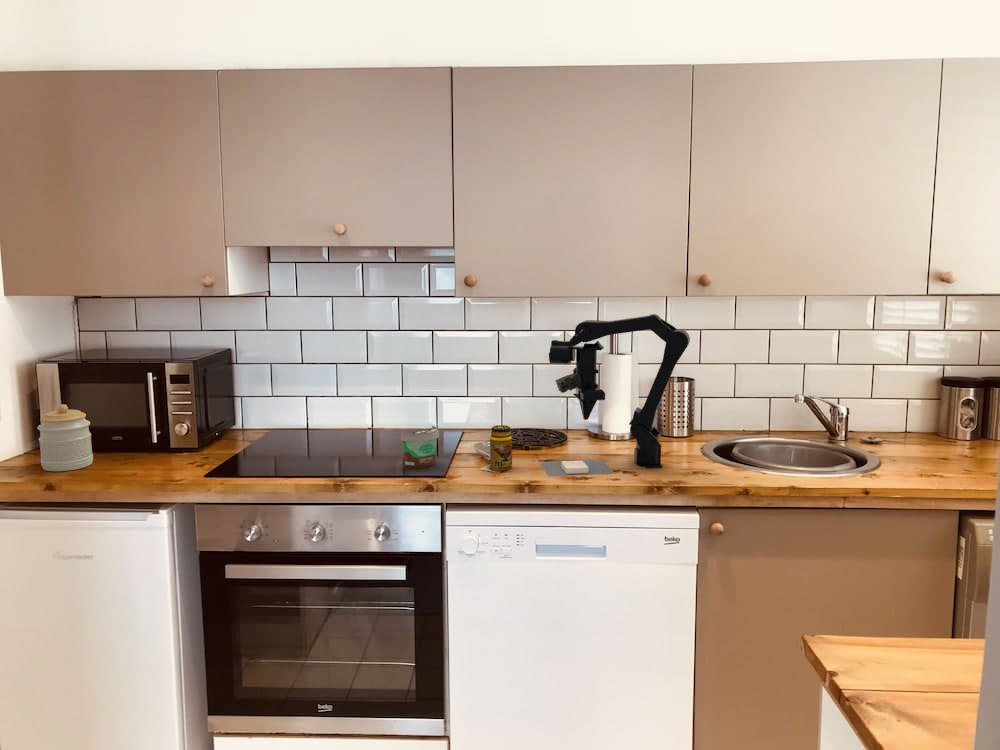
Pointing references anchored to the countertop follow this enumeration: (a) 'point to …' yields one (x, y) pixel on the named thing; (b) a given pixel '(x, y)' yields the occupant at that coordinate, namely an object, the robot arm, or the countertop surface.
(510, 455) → the condiment
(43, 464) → the jar
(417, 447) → the food container
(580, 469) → the tile
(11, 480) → the countertop surface
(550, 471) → the mat
